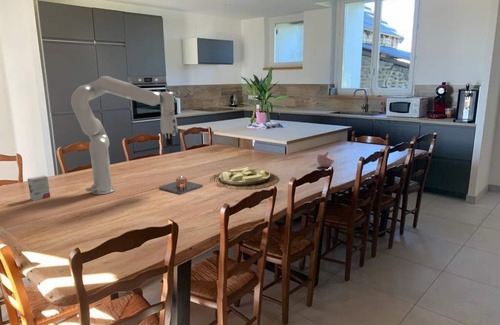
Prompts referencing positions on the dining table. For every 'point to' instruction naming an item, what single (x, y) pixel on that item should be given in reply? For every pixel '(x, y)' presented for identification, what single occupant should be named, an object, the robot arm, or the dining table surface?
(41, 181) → the ink box
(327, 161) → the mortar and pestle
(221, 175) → the plate
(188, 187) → the post plate
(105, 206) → the dining table surface
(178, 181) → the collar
